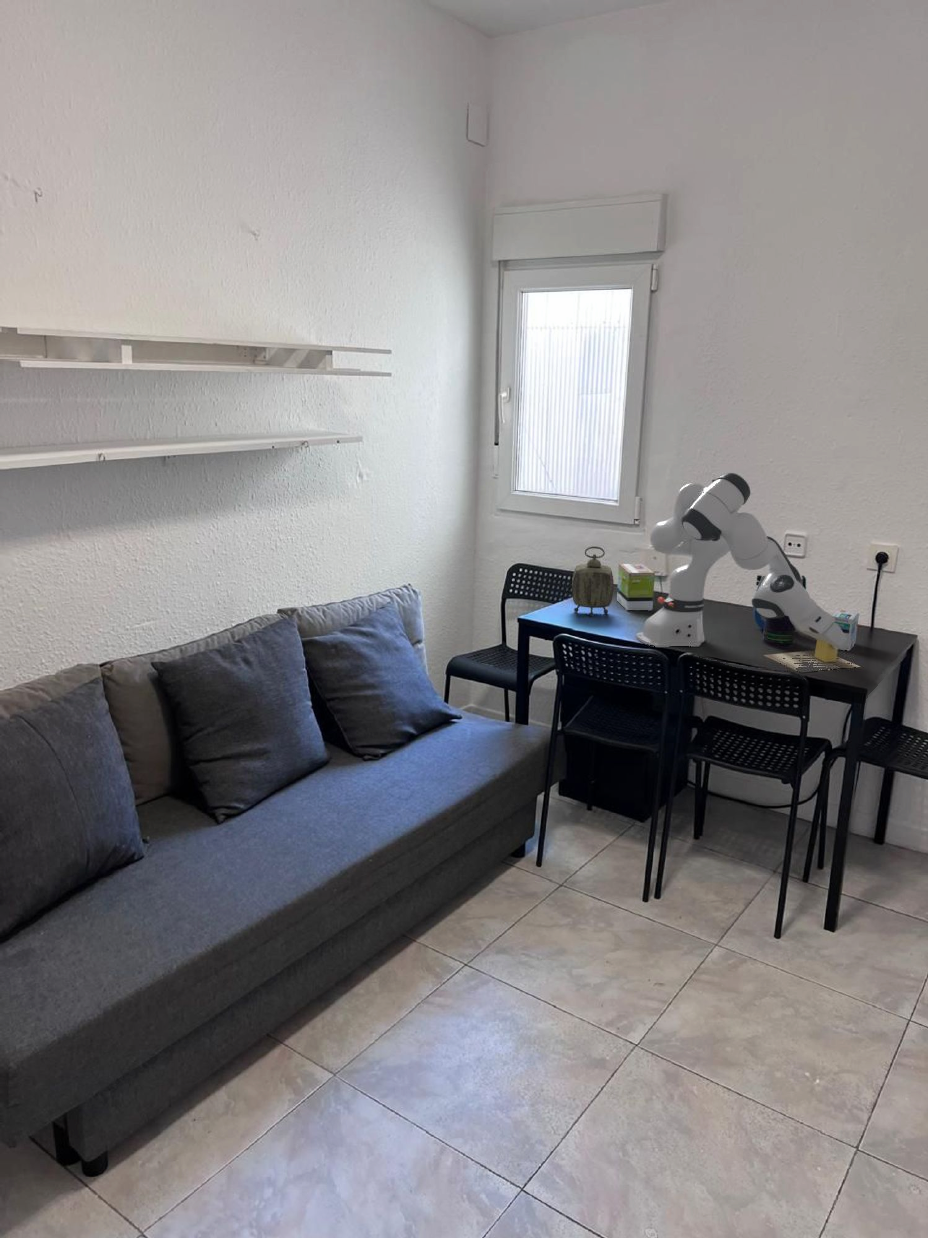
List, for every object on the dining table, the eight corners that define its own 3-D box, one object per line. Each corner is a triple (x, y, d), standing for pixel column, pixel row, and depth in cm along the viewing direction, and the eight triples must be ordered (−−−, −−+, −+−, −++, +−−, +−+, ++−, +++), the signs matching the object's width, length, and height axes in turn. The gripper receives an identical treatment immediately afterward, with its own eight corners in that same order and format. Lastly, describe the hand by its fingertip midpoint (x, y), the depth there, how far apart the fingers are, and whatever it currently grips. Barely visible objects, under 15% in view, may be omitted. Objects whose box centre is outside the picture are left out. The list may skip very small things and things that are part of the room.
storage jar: (799, 646, 306) (805, 602, 302) (773, 648, 303) (778, 603, 299) (781, 638, 315) (786, 594, 311) (756, 640, 312) (760, 596, 308)
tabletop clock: (610, 612, 342) (615, 545, 335) (611, 619, 333) (616, 550, 326) (570, 610, 343) (574, 543, 336) (570, 617, 334) (574, 548, 328)
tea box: (615, 600, 359) (618, 563, 355) (641, 600, 360) (644, 563, 356) (626, 611, 345) (629, 571, 341) (653, 611, 346) (656, 571, 342)
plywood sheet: (800, 673, 279) (801, 673, 279) (763, 655, 295) (763, 655, 295) (860, 667, 286) (860, 666, 286) (820, 649, 303) (820, 649, 303)
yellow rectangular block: (825, 662, 289) (830, 632, 287) (814, 657, 294) (819, 628, 292) (835, 661, 291) (840, 632, 288) (824, 656, 295) (829, 627, 293)
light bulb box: (849, 651, 302) (853, 619, 299) (827, 648, 305) (831, 616, 302) (855, 643, 310) (859, 612, 308) (834, 640, 314) (838, 609, 311)
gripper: (778, 615, 295) (800, 642, 301) (822, 633, 276) (845, 662, 282) (792, 600, 295) (814, 628, 301) (837, 617, 277) (859, 646, 282)
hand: (829, 644), depth 291 cm, fingers closed on yellow rectangular block, 5 cm apart
